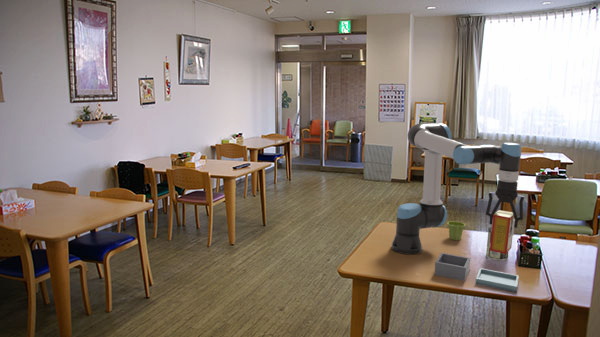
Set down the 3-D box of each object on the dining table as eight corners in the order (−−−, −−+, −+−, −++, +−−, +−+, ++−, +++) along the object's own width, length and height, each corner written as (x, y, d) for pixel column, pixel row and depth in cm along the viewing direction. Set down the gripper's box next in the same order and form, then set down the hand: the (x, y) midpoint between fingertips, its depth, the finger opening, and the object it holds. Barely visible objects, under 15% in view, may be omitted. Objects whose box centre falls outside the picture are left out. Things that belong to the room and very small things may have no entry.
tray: (475, 283, 196) (476, 278, 195) (479, 273, 207) (479, 268, 207) (516, 292, 188) (517, 286, 188) (518, 280, 200) (518, 275, 199)
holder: (434, 274, 204) (435, 262, 203) (440, 264, 216) (441, 252, 215) (464, 281, 198) (465, 268, 197) (469, 270, 210) (470, 258, 209)
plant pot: (443, 236, 258) (444, 221, 257) (459, 235, 259) (460, 221, 258) (450, 241, 249) (451, 226, 247) (467, 241, 250) (468, 226, 248)
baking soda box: (506, 253, 189) (510, 216, 186) (489, 250, 193) (493, 213, 190) (511, 247, 197) (515, 211, 194) (495, 244, 201) (498, 209, 198)
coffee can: (505, 254, 232) (508, 227, 229) (510, 261, 222) (513, 233, 219) (483, 252, 234) (486, 225, 231) (487, 259, 224) (490, 232, 221)
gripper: (481, 179, 191) (476, 231, 195) (534, 184, 182) (528, 239, 186) (483, 176, 197) (478, 227, 201) (534, 181, 188) (528, 234, 192)
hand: (502, 233), depth 194 cm, fingers closed on baking soda box, 7 cm apart
